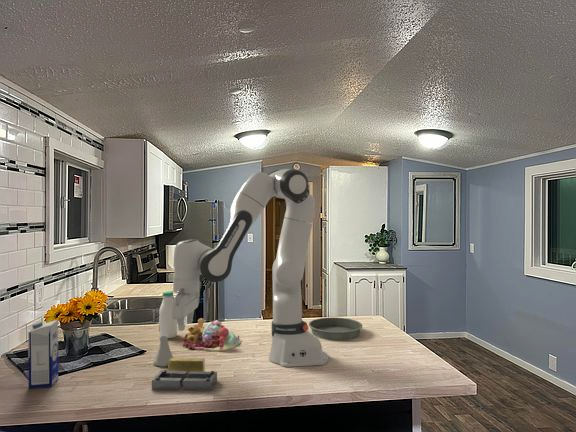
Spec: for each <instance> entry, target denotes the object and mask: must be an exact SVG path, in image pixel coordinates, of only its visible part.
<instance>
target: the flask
mask: <svg viewBox="0 0 576 432" xmlns="http://www.w3.org/2000/svg"><path fill="white" fill-rule="evenodd" d="M158 338H159V347H158V350H157V353H156V355H155V358H154V361H153V365H154V366H155V367H163V368H164V367H168V360H169V359H170V358H174V356H173V353H172V352H171V349H170V344H169V339H170V338H169V336H160V337H159V336H158Z"/></svg>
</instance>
